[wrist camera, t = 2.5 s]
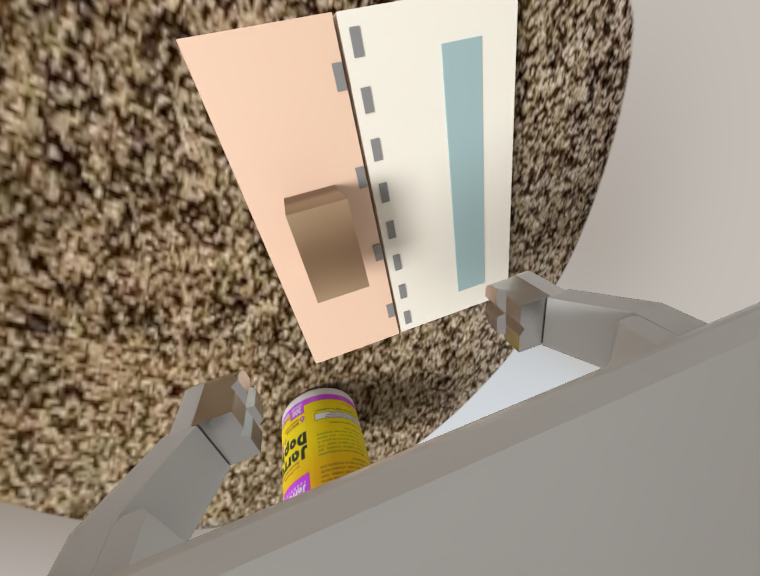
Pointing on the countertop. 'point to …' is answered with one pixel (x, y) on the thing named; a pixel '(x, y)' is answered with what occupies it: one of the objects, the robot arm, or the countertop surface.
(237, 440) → the robot arm
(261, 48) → the ticket stub
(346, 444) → the supplement bottle
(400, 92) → the ticket
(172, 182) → the countertop surface
